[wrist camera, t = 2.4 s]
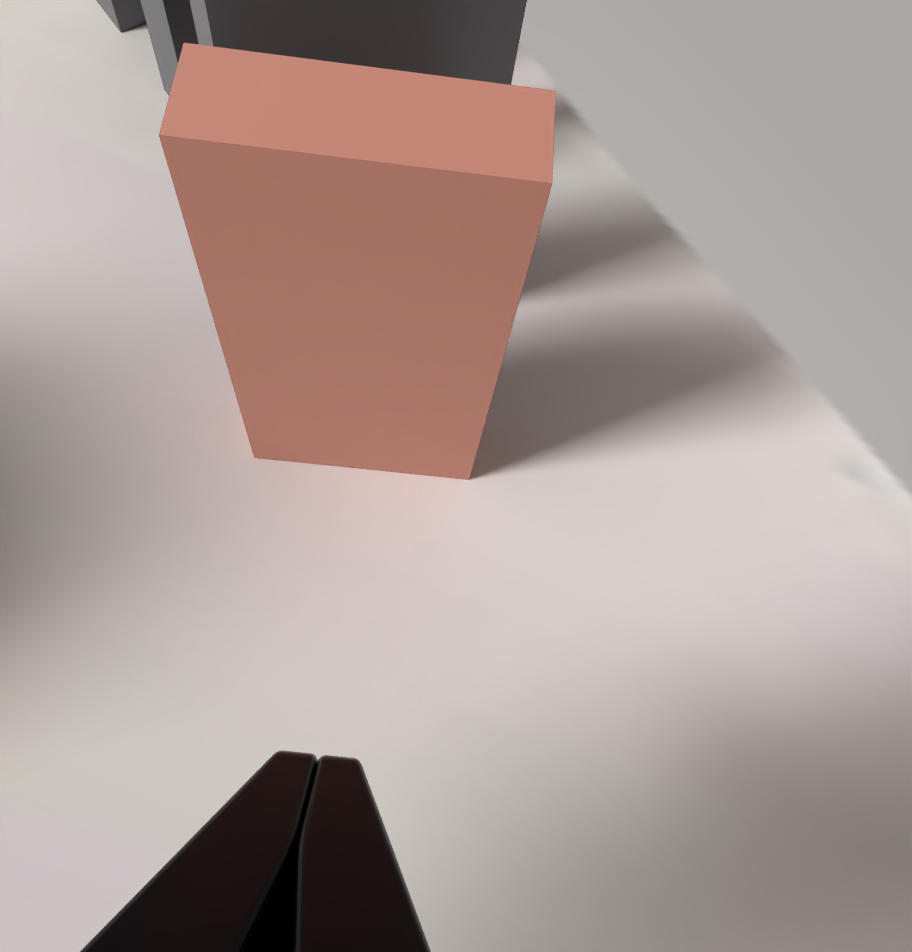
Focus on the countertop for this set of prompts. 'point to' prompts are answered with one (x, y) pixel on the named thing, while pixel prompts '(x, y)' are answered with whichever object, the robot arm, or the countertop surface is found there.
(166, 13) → the domino
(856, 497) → the countertop surface
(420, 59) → the domino
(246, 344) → the domino
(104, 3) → the domino
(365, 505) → the countertop surface
